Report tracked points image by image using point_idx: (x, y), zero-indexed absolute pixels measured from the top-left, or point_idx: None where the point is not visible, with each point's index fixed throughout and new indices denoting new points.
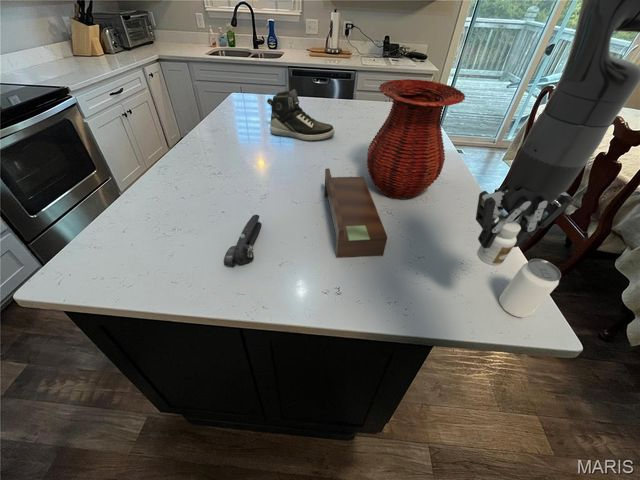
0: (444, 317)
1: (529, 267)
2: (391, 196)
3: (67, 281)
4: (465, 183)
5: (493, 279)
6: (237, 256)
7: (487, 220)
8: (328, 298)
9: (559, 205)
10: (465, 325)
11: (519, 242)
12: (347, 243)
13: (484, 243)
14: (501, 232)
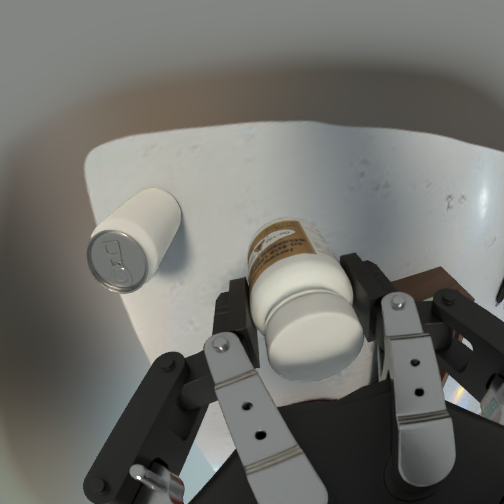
0: (295, 163)
1: (146, 263)
2: (324, 401)
3: None
4: (199, 433)
5: (180, 268)
6: None
7: (481, 318)
8: (460, 187)
9: (139, 472)
10: (258, 151)
11: (234, 292)
12: (445, 287)
13: (367, 265)
14: (350, 306)
